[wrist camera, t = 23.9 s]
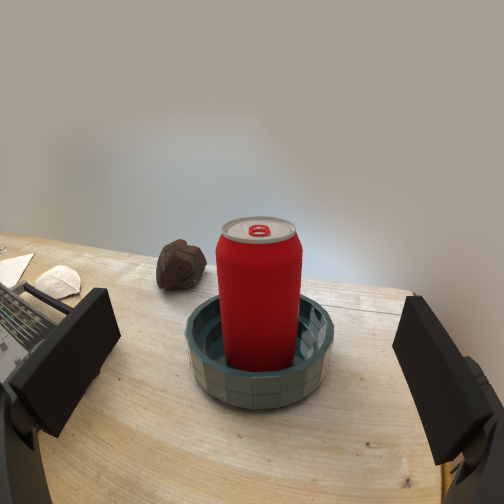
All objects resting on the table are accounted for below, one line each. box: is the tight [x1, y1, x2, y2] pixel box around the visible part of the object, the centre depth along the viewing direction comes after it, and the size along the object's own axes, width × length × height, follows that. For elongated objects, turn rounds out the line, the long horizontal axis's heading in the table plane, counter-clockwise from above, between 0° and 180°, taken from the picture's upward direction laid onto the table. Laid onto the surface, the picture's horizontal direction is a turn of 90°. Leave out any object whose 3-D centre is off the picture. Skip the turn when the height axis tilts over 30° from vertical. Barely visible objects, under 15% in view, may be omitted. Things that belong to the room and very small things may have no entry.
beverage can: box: [216, 216, 303, 372], centre depth 23 cm, size 6×6×12 cm
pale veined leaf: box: [34, 265, 80, 299], centre depth 37 cm, size 8×12×2 cm, turn 76°
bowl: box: [185, 294, 334, 409], centre depth 25 cm, size 12×12×4 cm
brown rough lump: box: [156, 239, 207, 289], centre depth 39 cm, size 6×7×10 cm
